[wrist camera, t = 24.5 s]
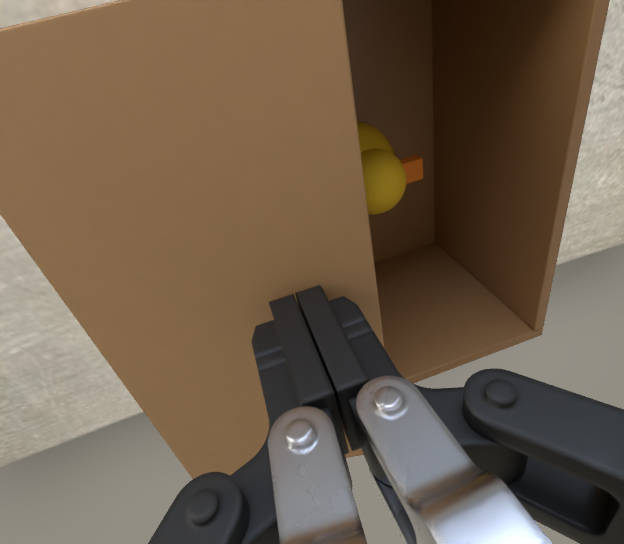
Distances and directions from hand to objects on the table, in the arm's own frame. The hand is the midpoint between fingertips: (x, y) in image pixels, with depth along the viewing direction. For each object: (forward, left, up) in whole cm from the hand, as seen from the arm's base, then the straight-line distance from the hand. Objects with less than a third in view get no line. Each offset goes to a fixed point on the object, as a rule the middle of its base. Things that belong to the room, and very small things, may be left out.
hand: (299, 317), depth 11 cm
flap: (-2, 0, -1) cm, 2 cm away
